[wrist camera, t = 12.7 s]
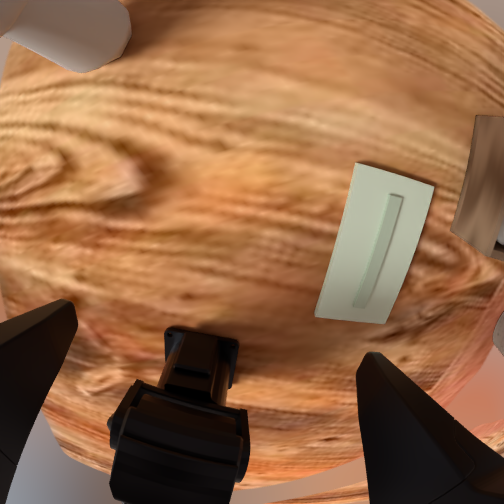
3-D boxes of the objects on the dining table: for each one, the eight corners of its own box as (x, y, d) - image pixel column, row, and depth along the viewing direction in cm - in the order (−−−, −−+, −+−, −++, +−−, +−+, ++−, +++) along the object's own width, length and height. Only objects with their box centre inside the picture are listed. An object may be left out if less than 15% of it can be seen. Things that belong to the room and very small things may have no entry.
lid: (380, 316, 23) (385, 326, 22) (313, 308, 23) (315, 319, 22) (426, 183, 19) (436, 187, 17) (353, 161, 18) (359, 163, 17)
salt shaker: (128, -4, 13) (21, -75, 1) (154, 45, 15) (28, -25, 3) (69, 41, 14) (-56, 16, 2) (89, 91, 16) (-56, 87, 4)
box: (485, 241, 19) (518, 265, 15) (449, 230, 19) (485, 255, 15) (510, 137, 15) (548, 145, 11) (475, 115, 15) (517, 118, 11)
